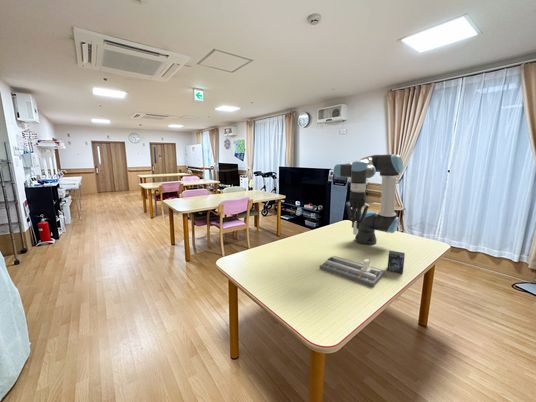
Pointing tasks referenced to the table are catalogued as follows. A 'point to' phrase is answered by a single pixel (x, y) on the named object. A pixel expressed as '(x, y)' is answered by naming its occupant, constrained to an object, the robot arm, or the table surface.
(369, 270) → the fader tab
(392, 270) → the box
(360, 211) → the robot arm
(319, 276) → the table surface
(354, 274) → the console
